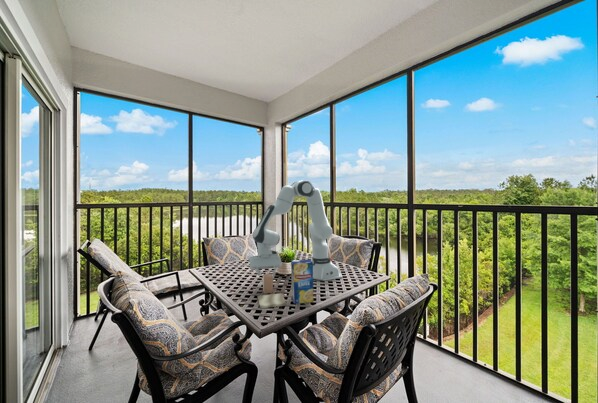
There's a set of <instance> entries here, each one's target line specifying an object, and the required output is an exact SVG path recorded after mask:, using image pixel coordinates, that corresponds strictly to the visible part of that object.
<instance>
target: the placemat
mask: <svg viewBox="0 0 598 403" xmlns="http://www.w3.org/2000/svg"><path fill="white" fill-rule="evenodd" d="M257 301H258V305H259V309H260V310H261V309H269V308H274V307H276V306H277V307H284V306H287V302H286V299H285V297H284V295H283V294H282V293H280V292H278V293H269V294H263V295H261V294H260V295H257ZM277 307H276V308H277Z"/></svg>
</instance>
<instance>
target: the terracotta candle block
mask: <svg viewBox="0 0 598 403" xmlns="http://www.w3.org/2000/svg"><path fill="white" fill-rule="evenodd" d="M273 279H274V277H273V273H266V274H265V273H264V274H262V291H263V295H267V294H274V280H273Z"/></svg>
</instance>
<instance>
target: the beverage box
mask: <svg viewBox="0 0 598 403" xmlns="http://www.w3.org/2000/svg"><path fill="white" fill-rule="evenodd" d="M290 261H291V263H290V266H291V267H290V268H291V271H290V272H291V273H290V274H291V277H290V278H291V300H292V302H293V304H295V305H296V304H297V305H298V304H305V303H312V302H314V278H313V262H312V259H298V260H290Z"/></svg>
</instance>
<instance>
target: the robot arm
mask: <svg viewBox="0 0 598 403" xmlns="http://www.w3.org/2000/svg"><path fill="white" fill-rule="evenodd" d="M296 197H304V198H305V199H306V203H307V207H308V208H307V210H308V215H309V217H310V219H311V221H312V222H311V223H310V224H309V226H308V231H309V234H310V239H311V245H312V247H311V248H312V257H311V261H312V262H313V280H319V281H324V282H325V281H326V282H327V281H331V280H335V279H341V278H342V277H343V274H342V273H341V272H340V270H339V268H338V266H337V265H335V264H334V263H333V261H334V259H333V258H332V257H330V256H329V246H328V243H327V240H329V239H331V237H332V236H333V228H332V227H331V225H330V223H329V220H328V218H327V215H326V211H325V206H324V205H325V204H324V201H323V196H322V194H321V191H320V189H319V188H316V187H314V186H313V184H312V183H311V182H310V181H309V180H306V179H304V180H301V179H300V180H298V181H294V182H292V183H291V184H290V185H284V186H282V188H281V189H280V191H279V193H278V195H277V198H276V199H275V201H274V203H273V204H270V205H269V206H268V207H267V209H266V210H265V212H264V214H263V216H262V218H261V219H260V221H259V223H258V225H257V226H256V227H255V229H254V230H253V232H252V239H253V240H254V242H255V243H256V247H257V255H251V256H249V257H248V261H249V269H250V270H251V271H253V270H255V272H256V273H257V276H261V271H259V270H267V269H269V270H270V269H273V270H272V275H276V271H277V269H279V268H282V266H283V264H282V259H281V256H280V255H279V251H276V250H272V249H271V248H274V247H276V246H277V245H278V244H280V240H281V237H280V234H279V232H276V231H275V230H272V229H271V230H270V229H267V226H268V225H269V222H270V220H271V219H272V218H273V217H274V216H277V215H278V216H280V215H284V214H285V215H286V214H287V213H289V212H290V210H291V208H292V206H293V203H294V200H295V199H296Z"/></svg>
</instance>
